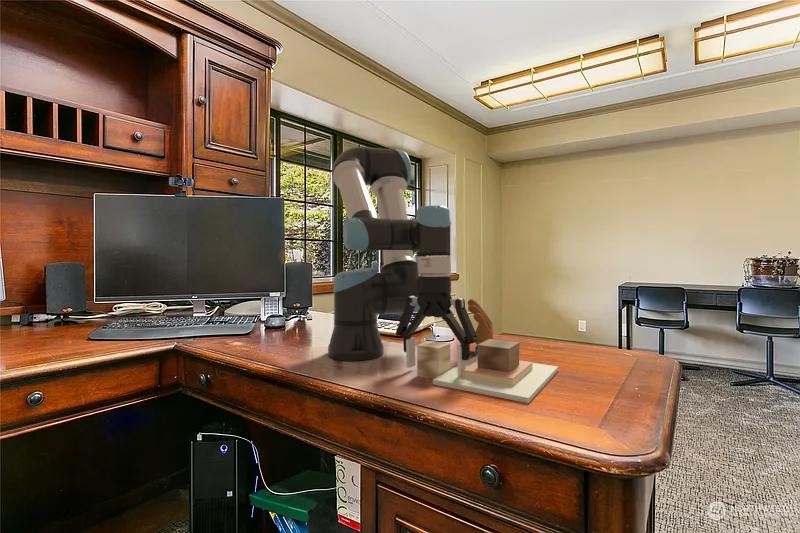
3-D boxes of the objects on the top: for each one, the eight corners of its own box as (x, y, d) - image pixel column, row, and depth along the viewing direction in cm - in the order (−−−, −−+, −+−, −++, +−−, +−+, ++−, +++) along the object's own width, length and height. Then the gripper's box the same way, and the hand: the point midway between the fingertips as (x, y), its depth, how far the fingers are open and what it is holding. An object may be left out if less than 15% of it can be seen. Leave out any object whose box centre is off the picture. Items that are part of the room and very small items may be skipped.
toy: (467, 348, 116) (467, 296, 116) (492, 349, 115) (492, 296, 115) (467, 359, 104) (467, 301, 104) (495, 360, 103) (495, 302, 103)
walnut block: (477, 367, 88) (477, 344, 88) (489, 360, 94) (489, 338, 94) (508, 372, 85) (509, 348, 84) (519, 364, 90) (519, 342, 90)
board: (432, 384, 85) (432, 372, 85) (477, 358, 105) (477, 349, 105) (528, 403, 74) (528, 389, 74) (558, 370, 94) (558, 360, 94)
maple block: (417, 376, 91) (417, 345, 91) (429, 370, 96) (429, 340, 95) (438, 380, 88) (438, 348, 88) (450, 373, 92) (450, 343, 92)
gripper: (380, 275, 94) (381, 366, 95) (479, 276, 81) (480, 383, 81) (398, 274, 101) (399, 359, 101) (492, 275, 87) (493, 374, 88)
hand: (435, 370), depth 91 cm, fingers open, 12 cm apart
